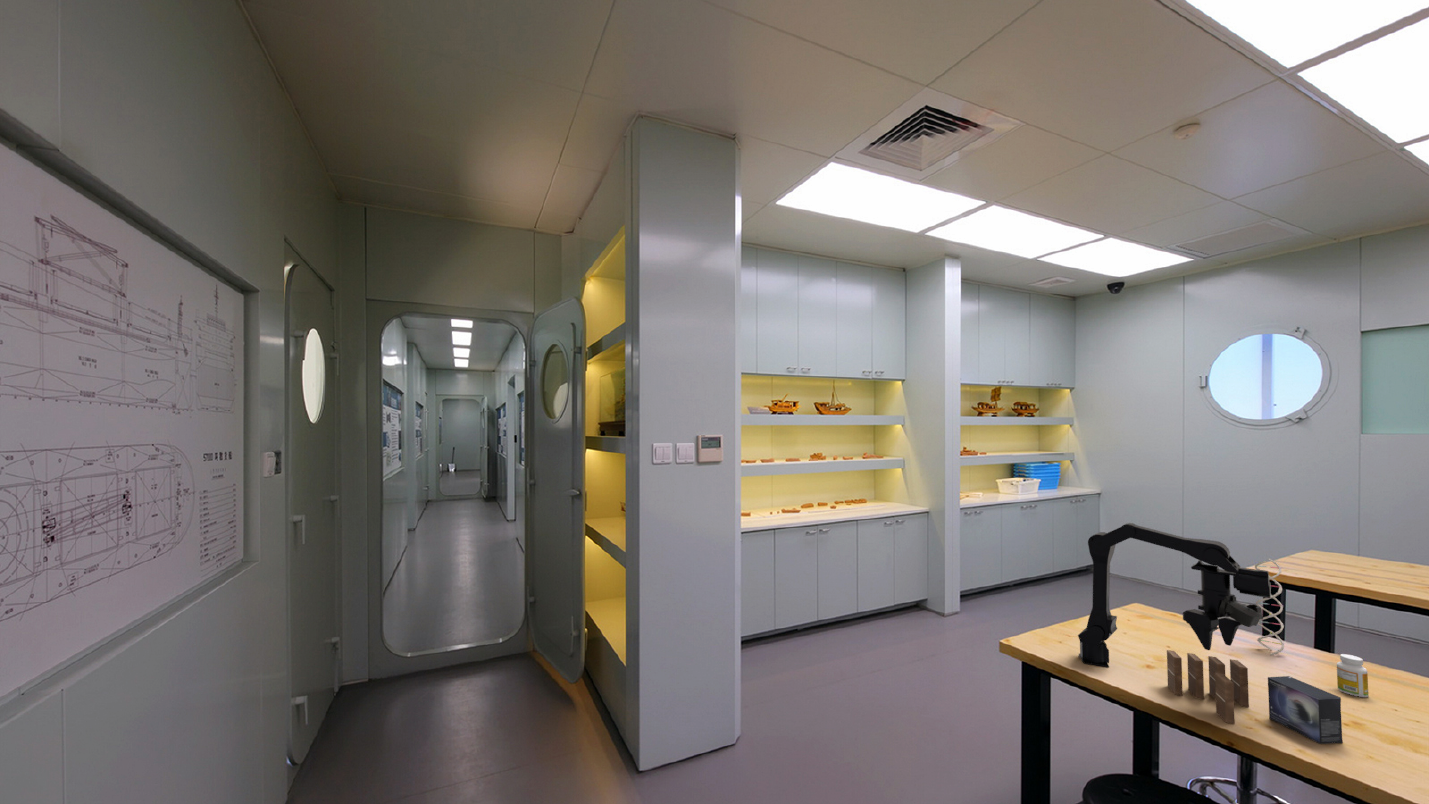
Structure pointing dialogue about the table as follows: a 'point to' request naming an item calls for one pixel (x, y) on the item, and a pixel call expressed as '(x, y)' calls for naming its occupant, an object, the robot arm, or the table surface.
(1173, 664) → the domino
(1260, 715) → the table surface
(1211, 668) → the domino
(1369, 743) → the table surface
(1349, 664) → the supplement bottle
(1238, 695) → the domino
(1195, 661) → the domino
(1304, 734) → the small box
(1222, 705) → the domino
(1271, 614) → the dna model
